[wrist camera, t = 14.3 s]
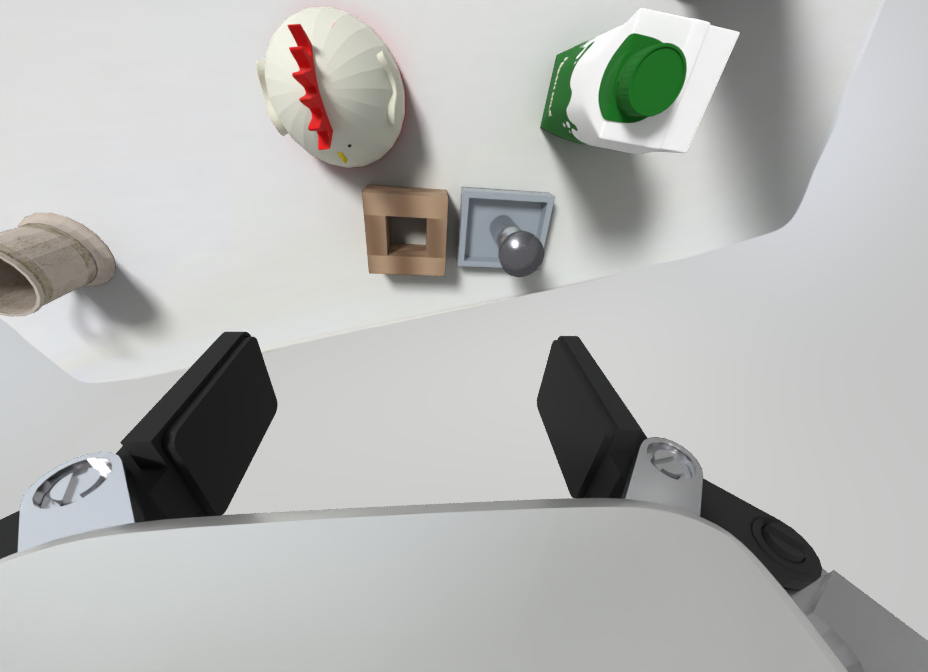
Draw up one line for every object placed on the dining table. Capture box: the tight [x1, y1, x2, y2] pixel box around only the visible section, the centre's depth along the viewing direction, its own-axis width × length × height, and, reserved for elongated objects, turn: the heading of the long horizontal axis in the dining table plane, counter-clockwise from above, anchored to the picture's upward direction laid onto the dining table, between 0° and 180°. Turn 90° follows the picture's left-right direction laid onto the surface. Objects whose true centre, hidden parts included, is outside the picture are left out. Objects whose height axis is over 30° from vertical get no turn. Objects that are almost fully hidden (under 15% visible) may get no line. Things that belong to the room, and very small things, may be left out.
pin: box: [490, 215, 544, 277], centre depth 42 cm, size 5×5×11 cm
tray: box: [457, 187, 555, 269], centre depth 46 cm, size 12×10×2 cm
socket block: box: [362, 185, 448, 276], centre depth 43 cm, size 10×10×5 cm
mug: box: [0, 213, 116, 316], centre depth 39 cm, size 14×10×12 cm
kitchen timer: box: [256, 6, 406, 168], centre depth 31 cm, size 14×14×15 cm
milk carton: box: [540, 8, 740, 154], centre depth 31 cm, size 9×9×20 cm
